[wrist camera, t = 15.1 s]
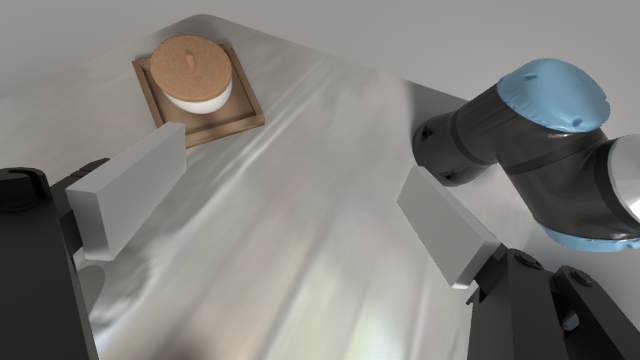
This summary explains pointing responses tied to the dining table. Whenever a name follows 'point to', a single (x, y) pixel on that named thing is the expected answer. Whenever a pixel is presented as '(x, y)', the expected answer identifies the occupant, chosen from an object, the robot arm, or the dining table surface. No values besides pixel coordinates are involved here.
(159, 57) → the lidded jar
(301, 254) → the dining table surface
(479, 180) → the dining table surface
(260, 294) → the dining table surface
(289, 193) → the dining table surface
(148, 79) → the walnut tray
